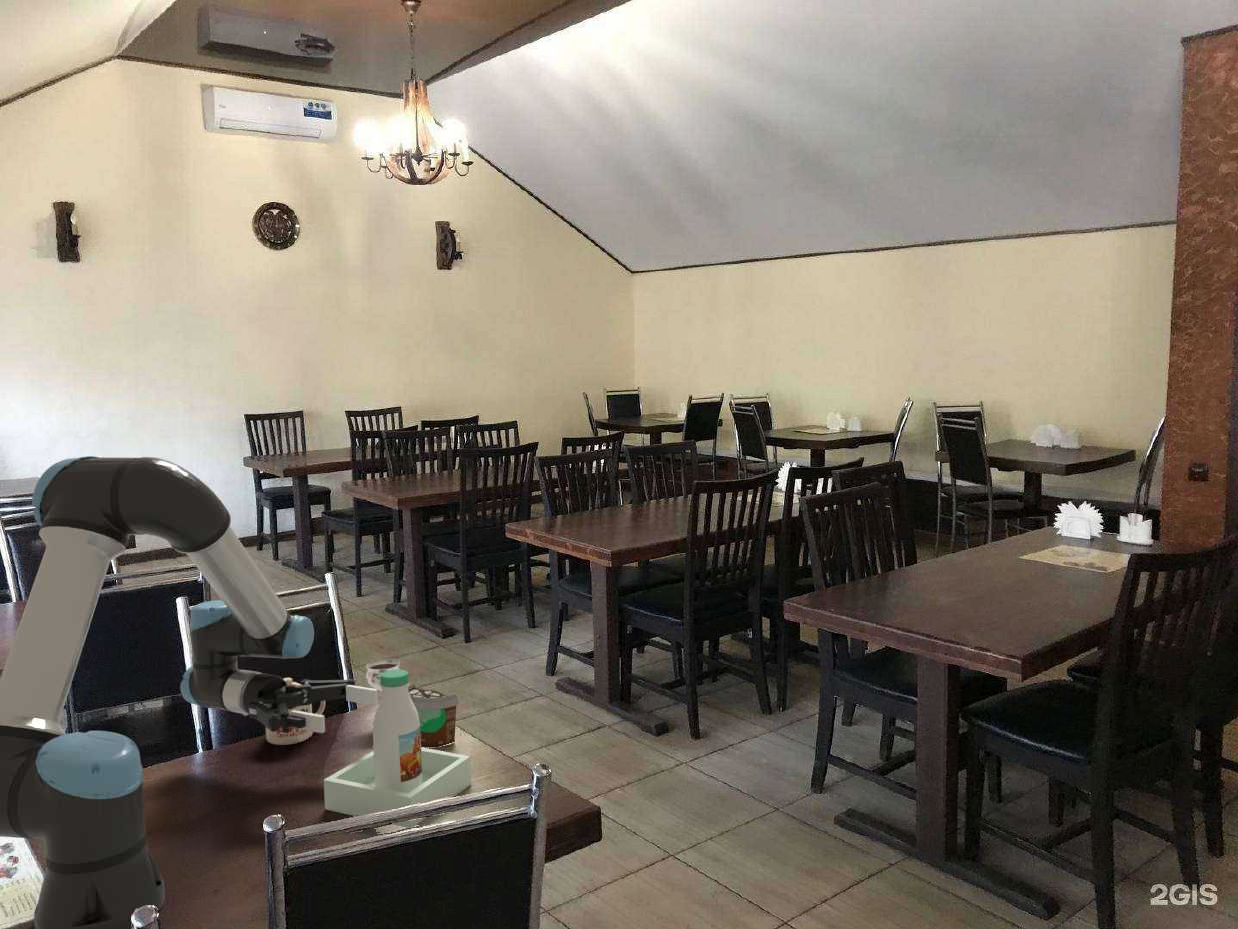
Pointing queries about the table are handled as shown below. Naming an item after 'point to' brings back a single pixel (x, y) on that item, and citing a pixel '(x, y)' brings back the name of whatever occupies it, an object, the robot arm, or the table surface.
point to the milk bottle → (397, 736)
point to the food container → (434, 716)
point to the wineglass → (379, 671)
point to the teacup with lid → (294, 733)
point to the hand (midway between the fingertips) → (351, 710)
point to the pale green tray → (361, 796)
